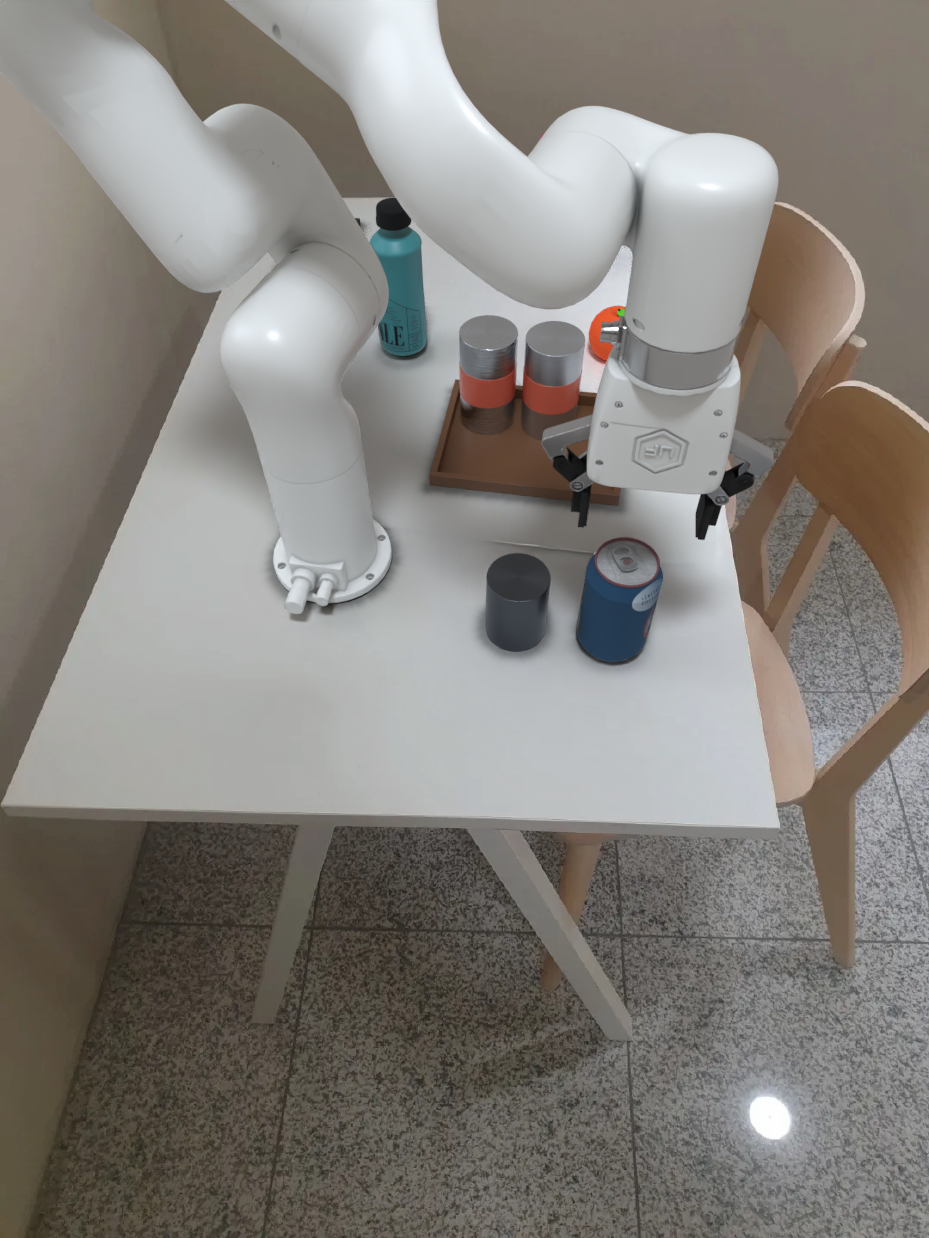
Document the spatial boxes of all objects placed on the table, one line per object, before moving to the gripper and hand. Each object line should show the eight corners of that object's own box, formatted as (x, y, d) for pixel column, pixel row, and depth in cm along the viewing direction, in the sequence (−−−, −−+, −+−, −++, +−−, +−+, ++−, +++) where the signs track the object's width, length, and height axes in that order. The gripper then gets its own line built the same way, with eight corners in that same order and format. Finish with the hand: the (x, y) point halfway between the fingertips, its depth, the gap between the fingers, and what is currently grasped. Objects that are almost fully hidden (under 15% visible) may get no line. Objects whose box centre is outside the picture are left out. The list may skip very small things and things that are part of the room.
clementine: (651, 349, 112) (660, 301, 106) (639, 379, 108) (649, 331, 102) (593, 337, 114) (599, 289, 108) (579, 367, 110) (585, 319, 104)
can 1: (510, 437, 101) (514, 353, 91) (455, 432, 102) (454, 347, 92) (517, 402, 105) (522, 317, 95) (464, 397, 106) (463, 312, 96)
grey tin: (541, 655, 83) (547, 605, 76) (481, 647, 83) (482, 597, 77) (548, 607, 86) (553, 556, 80) (490, 600, 87) (491, 549, 80)
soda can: (656, 658, 82) (680, 581, 73) (589, 675, 81) (605, 599, 71) (628, 605, 86) (647, 524, 77) (564, 620, 85) (576, 541, 75)
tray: (617, 509, 94) (620, 496, 93) (429, 488, 97) (429, 475, 95) (625, 408, 105) (628, 395, 103) (455, 392, 107) (455, 379, 105)
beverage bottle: (431, 338, 114) (424, 190, 98) (425, 368, 110) (416, 219, 94) (384, 336, 114) (369, 188, 98) (376, 366, 110) (359, 216, 94)
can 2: (572, 444, 100) (583, 359, 91) (517, 438, 101) (521, 353, 91) (577, 408, 104) (588, 323, 95) (523, 403, 105) (529, 318, 95)
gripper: (542, 368, 55) (532, 543, 69) (815, 389, 53) (749, 566, 67) (554, 303, 59) (542, 480, 73) (806, 321, 57) (745, 500, 71)
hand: (640, 521), depth 70 cm, fingers open, 9 cm apart
